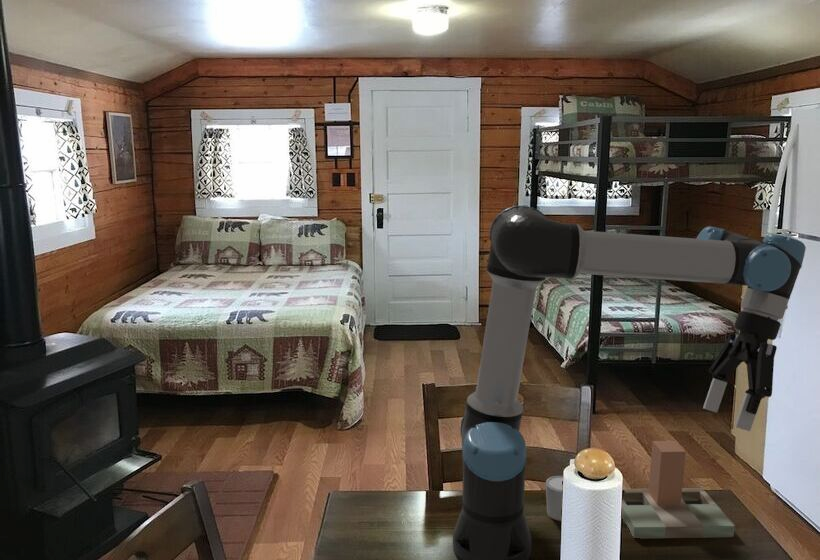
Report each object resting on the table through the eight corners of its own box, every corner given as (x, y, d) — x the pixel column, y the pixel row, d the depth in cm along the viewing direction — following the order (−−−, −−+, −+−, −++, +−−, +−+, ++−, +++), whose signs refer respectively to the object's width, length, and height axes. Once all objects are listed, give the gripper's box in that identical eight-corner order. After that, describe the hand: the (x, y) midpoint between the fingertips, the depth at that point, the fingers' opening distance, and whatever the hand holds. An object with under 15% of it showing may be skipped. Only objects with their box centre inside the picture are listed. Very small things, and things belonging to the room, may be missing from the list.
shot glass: (578, 524, 139) (579, 493, 138) (544, 520, 140) (545, 490, 139) (576, 506, 146) (578, 476, 144) (544, 503, 147) (545, 473, 146)
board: (610, 499, 148) (611, 489, 148) (701, 498, 149) (702, 487, 148) (633, 538, 134) (634, 527, 134) (733, 537, 135) (734, 525, 134)
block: (648, 492, 147) (652, 440, 144) (671, 492, 147) (675, 440, 144) (656, 504, 142) (661, 451, 139) (680, 504, 142) (685, 451, 139)
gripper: (817, 329, 118) (777, 443, 119) (747, 314, 143) (715, 408, 144) (776, 316, 118) (737, 431, 119) (713, 303, 143) (681, 398, 144)
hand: (725, 419), depth 132 cm, fingers open, 13 cm apart
